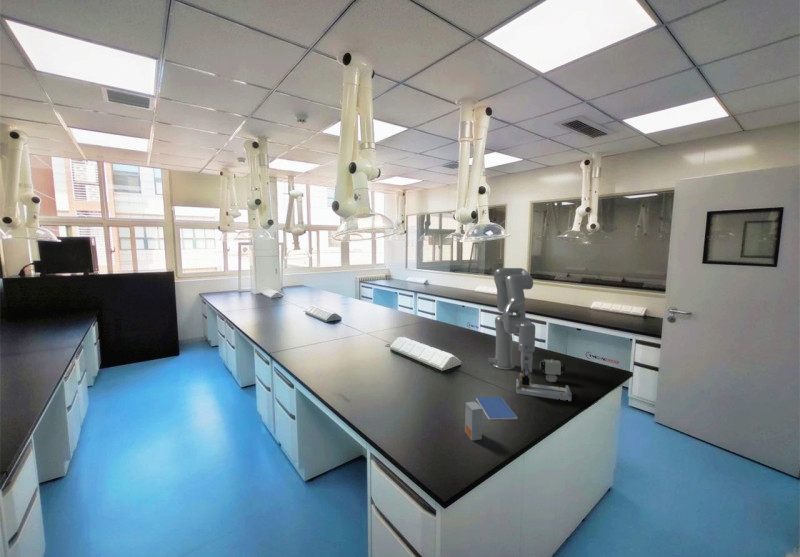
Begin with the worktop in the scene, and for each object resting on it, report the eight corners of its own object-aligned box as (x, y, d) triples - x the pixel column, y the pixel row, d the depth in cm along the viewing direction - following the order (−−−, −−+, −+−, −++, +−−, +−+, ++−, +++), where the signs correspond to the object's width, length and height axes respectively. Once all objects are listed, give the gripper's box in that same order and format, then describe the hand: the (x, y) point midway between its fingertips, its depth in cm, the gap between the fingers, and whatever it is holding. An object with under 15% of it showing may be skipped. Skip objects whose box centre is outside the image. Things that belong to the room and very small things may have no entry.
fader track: (516, 393, 155) (516, 386, 155) (516, 385, 164) (516, 378, 164) (571, 401, 147) (571, 393, 147) (567, 392, 156) (567, 385, 156)
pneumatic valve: (564, 383, 166) (565, 361, 165) (540, 381, 169) (541, 359, 168) (561, 379, 172) (562, 358, 171) (538, 377, 175) (539, 356, 174)
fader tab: (519, 386, 157) (520, 374, 157) (519, 383, 161) (520, 372, 160) (530, 388, 156) (531, 376, 155) (530, 385, 159) (530, 373, 158)
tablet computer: (518, 420, 131) (518, 417, 131) (488, 421, 130) (488, 418, 130) (501, 399, 150) (501, 396, 150) (475, 399, 149) (475, 396, 149)
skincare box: (464, 432, 121) (465, 402, 120) (474, 430, 122) (475, 400, 121) (471, 441, 115) (472, 409, 114) (482, 439, 116) (483, 408, 115)
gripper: (535, 353, 147) (534, 389, 148) (533, 343, 163) (532, 375, 165) (518, 351, 150) (517, 386, 151) (518, 342, 166) (516, 373, 167)
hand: (525, 381), depth 158 cm, fingers open, 9 cm apart
